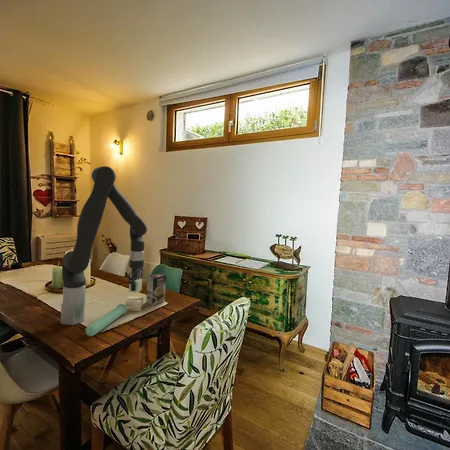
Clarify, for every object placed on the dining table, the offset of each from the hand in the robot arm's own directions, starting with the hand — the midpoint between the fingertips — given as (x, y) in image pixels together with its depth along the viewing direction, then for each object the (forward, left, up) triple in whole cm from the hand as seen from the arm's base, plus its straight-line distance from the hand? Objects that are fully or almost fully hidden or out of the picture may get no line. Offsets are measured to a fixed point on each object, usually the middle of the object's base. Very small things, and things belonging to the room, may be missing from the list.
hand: (135, 289), depth 145 cm
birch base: (0, 0, -11) cm, 11 cm away
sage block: (0, 0, -1) cm, 1 cm away
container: (-21, +4, -11) cm, 24 cm away
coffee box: (+11, -8, -11) cm, 17 cm away
